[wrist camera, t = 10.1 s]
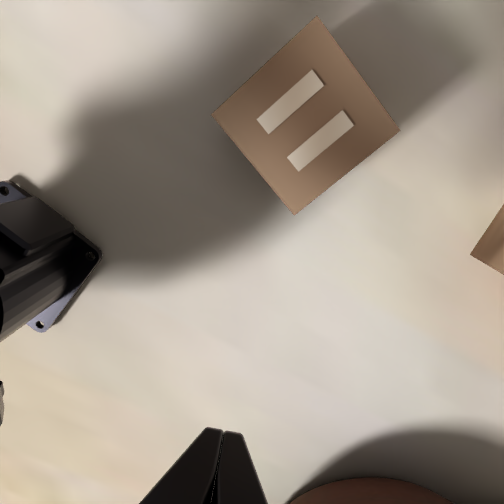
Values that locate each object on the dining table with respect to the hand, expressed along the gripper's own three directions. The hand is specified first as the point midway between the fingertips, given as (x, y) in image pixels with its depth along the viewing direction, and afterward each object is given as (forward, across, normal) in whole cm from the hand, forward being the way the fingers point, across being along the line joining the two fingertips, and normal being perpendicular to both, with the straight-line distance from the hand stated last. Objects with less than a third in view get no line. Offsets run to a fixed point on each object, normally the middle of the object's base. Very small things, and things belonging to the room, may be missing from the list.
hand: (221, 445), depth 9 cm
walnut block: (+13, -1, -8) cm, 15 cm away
